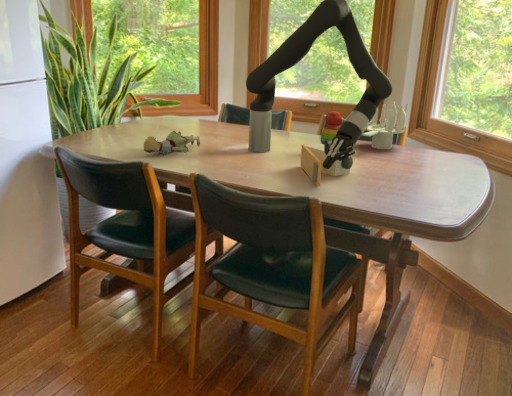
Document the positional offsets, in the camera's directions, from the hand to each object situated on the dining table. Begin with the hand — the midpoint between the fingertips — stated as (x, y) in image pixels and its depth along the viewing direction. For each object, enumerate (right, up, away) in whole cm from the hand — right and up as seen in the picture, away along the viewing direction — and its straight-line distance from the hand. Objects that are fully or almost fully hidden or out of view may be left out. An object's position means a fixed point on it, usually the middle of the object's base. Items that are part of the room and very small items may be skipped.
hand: (325, 167), depth 154 cm
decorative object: (+32, +12, +55) cm, 64 cm away
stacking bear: (+10, +9, +45) cm, 47 cm away
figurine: (-58, +9, +39) cm, 70 cm away
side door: (-4, -2, +10) cm, 11 cm away
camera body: (+3, 0, +19) cm, 19 cm away
